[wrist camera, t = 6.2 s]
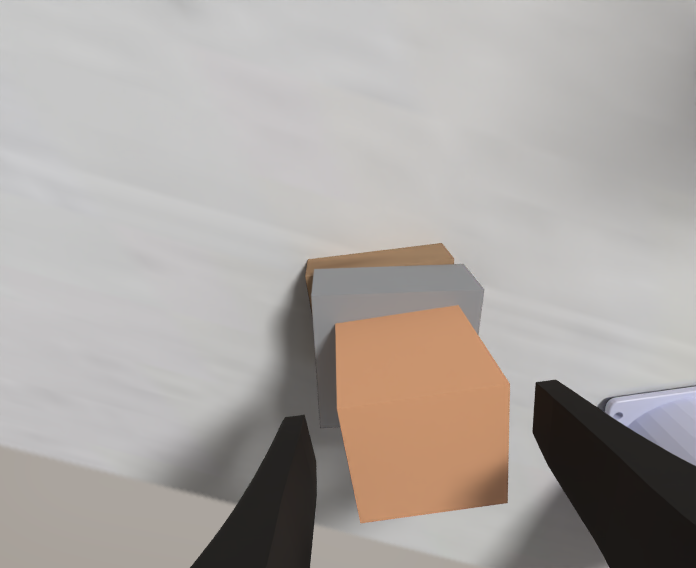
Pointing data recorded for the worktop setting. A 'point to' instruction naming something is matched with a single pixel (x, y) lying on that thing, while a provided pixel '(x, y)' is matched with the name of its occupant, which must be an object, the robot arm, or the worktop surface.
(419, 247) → the walnut slab
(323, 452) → the worktop surface
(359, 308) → the slate slab
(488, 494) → the terracotta cube
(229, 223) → the worktop surface
